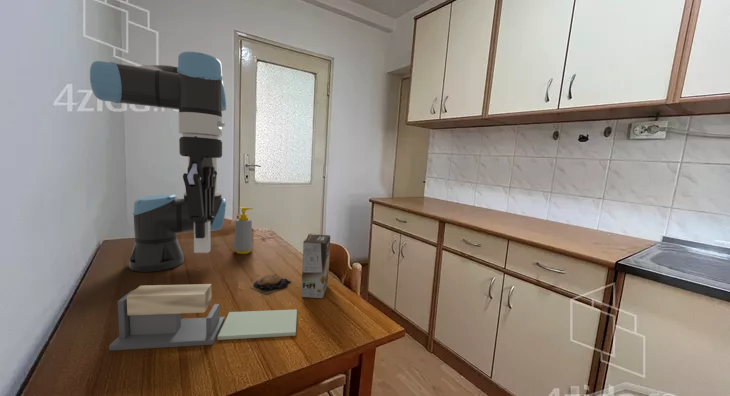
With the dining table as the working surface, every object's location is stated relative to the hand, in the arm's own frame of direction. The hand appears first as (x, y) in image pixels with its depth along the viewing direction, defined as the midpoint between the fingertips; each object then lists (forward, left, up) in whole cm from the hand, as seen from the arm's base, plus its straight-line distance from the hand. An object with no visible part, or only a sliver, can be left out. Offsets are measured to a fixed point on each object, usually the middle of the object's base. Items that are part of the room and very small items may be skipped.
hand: (202, 251), depth 63 cm
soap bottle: (-56, -2, -19) cm, 59 cm away
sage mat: (-2, +12, -18) cm, 22 cm away
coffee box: (-19, +25, -19) cm, 36 cm away
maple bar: (0, -6, -12) cm, 14 cm away
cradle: (0, -6, -18) cm, 19 cm away
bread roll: (-24, +12, -19) cm, 33 cm away
